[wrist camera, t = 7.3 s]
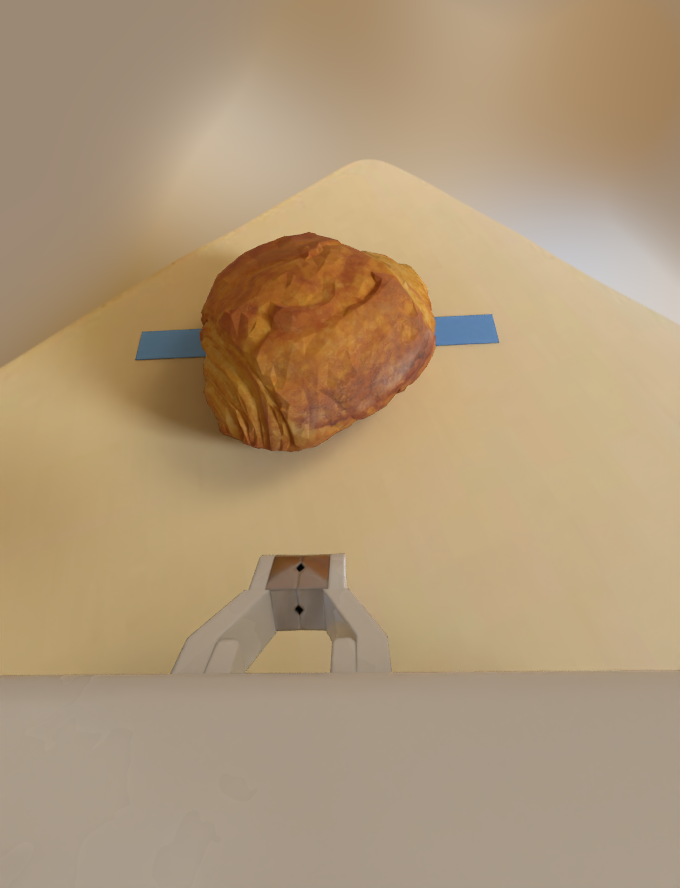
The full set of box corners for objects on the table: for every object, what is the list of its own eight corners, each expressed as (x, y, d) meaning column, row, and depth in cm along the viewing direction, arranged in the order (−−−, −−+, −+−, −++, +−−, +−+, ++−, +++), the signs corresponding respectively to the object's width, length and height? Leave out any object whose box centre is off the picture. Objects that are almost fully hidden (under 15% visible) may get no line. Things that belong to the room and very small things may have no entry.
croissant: (452, 393, 25) (512, 308, 18) (258, 501, 20) (232, 446, 13) (345, 269, 29) (358, 160, 22) (166, 334, 25) (108, 224, 17)
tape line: (498, 342, 24) (499, 342, 24) (135, 359, 25) (135, 359, 25) (491, 314, 25) (492, 314, 25) (142, 332, 26) (142, 331, 26)
